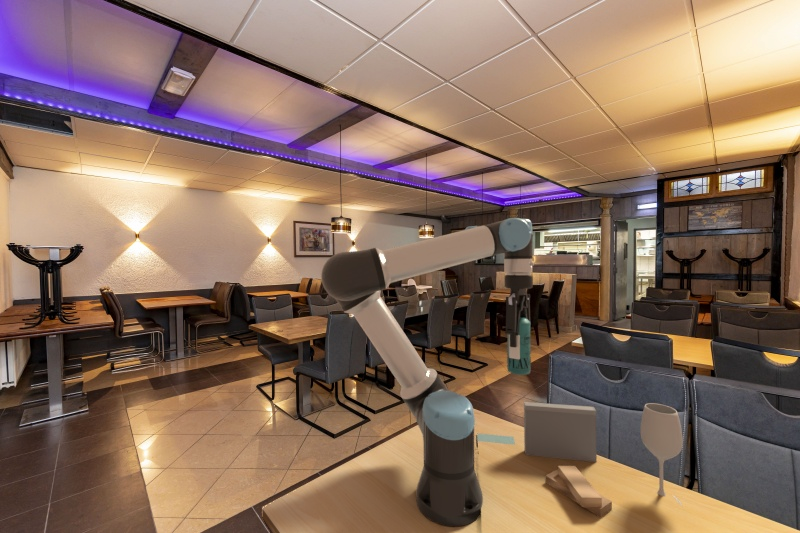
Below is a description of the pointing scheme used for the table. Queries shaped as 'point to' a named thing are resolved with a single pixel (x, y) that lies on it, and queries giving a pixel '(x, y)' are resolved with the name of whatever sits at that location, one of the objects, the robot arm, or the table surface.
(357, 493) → the table surface
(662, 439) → the wineglass
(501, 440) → the mat
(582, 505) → the offcut top
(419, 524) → the table surface
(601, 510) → the offcut middle
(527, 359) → the beverage bottle
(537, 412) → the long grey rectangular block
